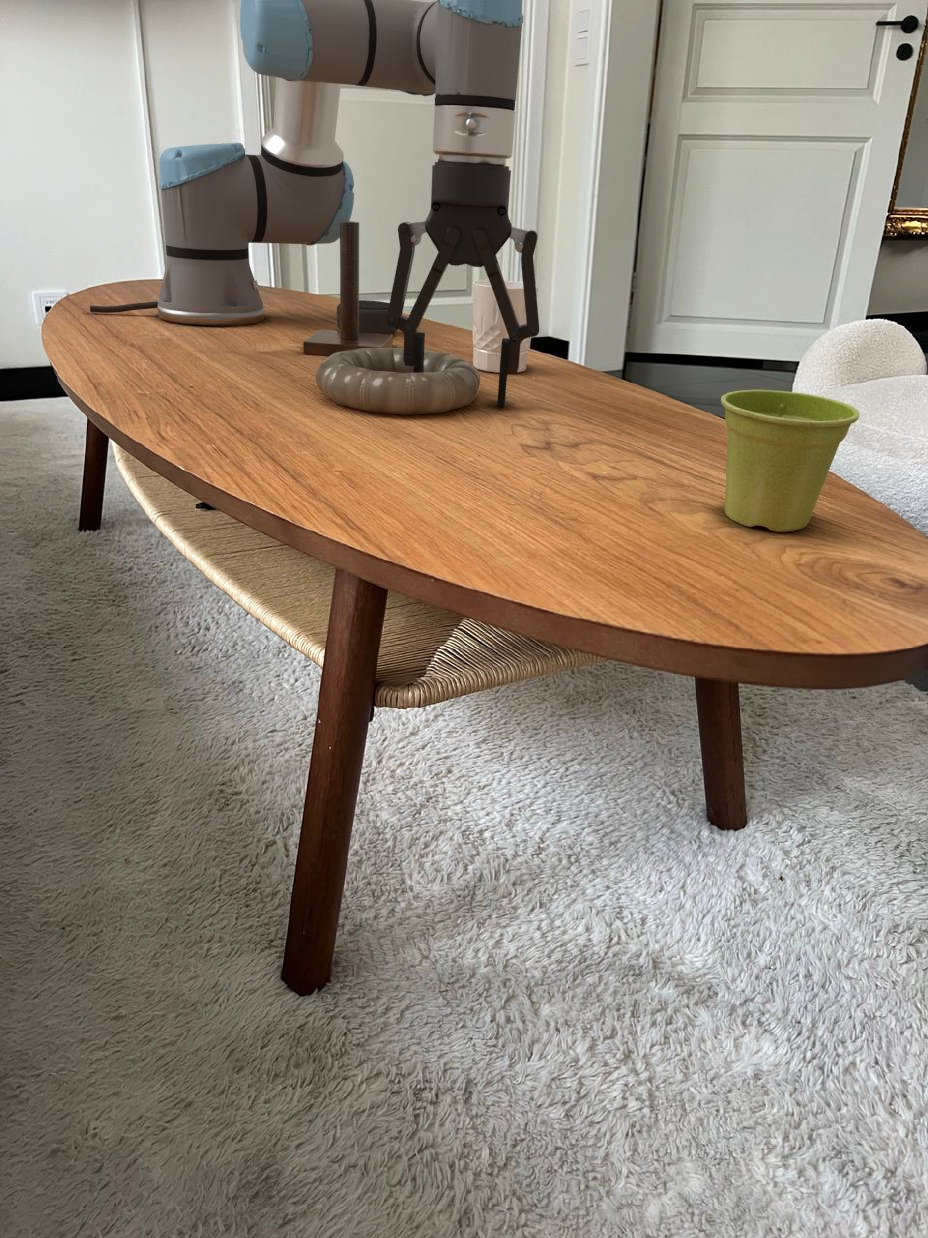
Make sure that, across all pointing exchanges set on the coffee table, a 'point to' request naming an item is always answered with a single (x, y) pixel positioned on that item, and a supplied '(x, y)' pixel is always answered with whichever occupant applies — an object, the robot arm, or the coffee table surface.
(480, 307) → the white cup
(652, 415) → the coffee table surface
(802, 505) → the plant pot
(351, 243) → the stand
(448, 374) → the taupe ribbed ring
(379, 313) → the smart speaker
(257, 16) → the robot arm
